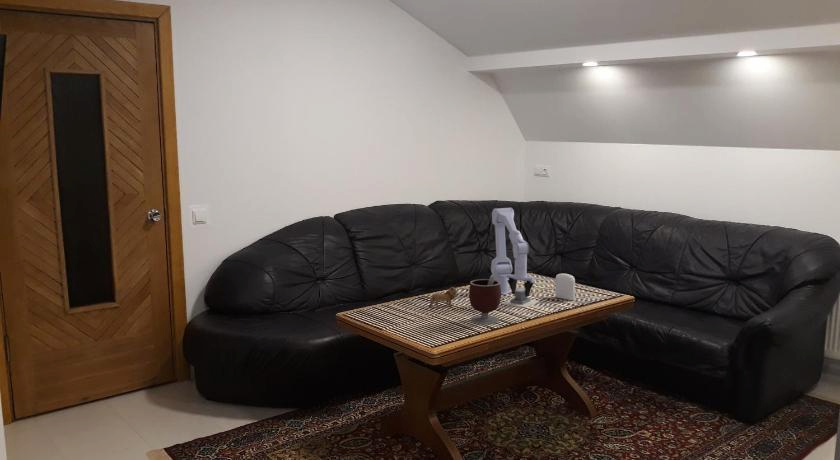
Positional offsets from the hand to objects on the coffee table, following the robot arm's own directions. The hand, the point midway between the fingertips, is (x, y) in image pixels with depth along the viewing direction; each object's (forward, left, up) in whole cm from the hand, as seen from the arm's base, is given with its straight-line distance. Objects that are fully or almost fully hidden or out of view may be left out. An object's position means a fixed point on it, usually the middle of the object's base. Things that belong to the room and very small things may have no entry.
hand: (520, 295), depth 311 cm
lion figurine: (-27, -26, -4) cm, 38 cm away
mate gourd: (+2, -35, -4) cm, 35 cm away
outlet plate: (0, 0, -4) cm, 4 cm away
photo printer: (+14, +20, -4) cm, 25 cm away
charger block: (0, 0, -3) cm, 3 cm away
